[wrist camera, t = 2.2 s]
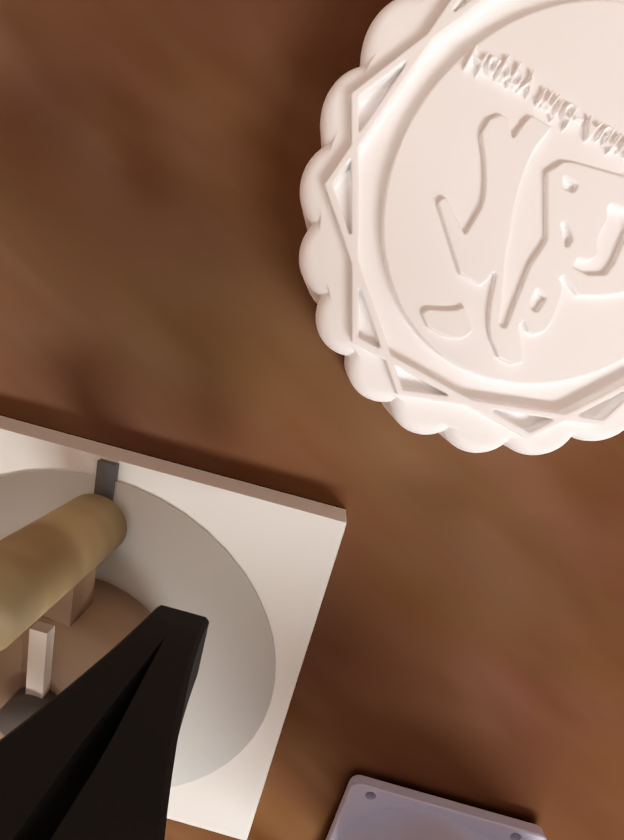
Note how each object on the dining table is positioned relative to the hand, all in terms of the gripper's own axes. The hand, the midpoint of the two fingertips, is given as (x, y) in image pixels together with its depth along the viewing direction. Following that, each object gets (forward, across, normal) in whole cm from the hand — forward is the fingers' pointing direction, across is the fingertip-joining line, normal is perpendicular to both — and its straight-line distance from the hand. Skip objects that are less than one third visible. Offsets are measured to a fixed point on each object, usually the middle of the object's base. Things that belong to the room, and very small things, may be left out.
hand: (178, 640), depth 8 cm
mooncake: (+5, -6, -12) cm, 15 cm away
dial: (+4, +5, +5) cm, 8 cm away
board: (+5, +5, +7) cm, 10 cm away
